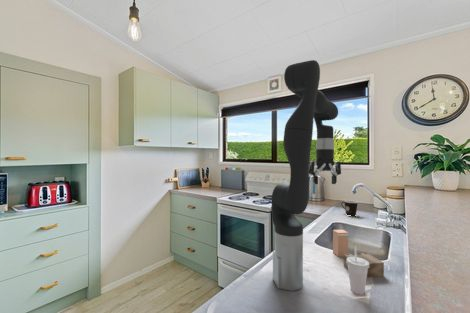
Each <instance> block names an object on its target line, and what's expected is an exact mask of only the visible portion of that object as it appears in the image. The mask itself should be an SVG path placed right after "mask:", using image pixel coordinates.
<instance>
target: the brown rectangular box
mask: <svg viewBox="0 0 470 313" xmlns="http://www.w3.org/2000/svg"><path fill="white" fill-rule="evenodd" d="M348 257H355V252H354V253H348V254H344V256H343V268H345V269H346V270H347V271H348V264H347V262H346V261H347V258H348ZM357 257H359V258H362V259H365V260H366V261H368V262H369V268H368V272H367V278H374V277H375V278H376V277H384V276H385V274H384V273H385V262H383V261H382V260H380V259H379V258H376V257H375V256H374V255H372V254H370V253H368V252H363V253H361V252H359V253H358V252H357Z"/></svg>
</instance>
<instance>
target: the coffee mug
mask: <svg viewBox="0 0 470 313" xmlns="http://www.w3.org/2000/svg"><path fill="white" fill-rule="evenodd" d="M358 202H359V201H357V200H356V201H355V200H344V201H342V202H341V204H340V205H341V207H342V208H343V209H344V210H345V215H346V214H347V215H351V216H355V215H356V216H357V210H358ZM343 203H344V206H343ZM347 215H346V216H347ZM351 216H350V217H351ZM356 216H355V217H356Z"/></svg>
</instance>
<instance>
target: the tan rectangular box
mask: <svg viewBox="0 0 470 313" xmlns="http://www.w3.org/2000/svg"><path fill="white" fill-rule="evenodd" d="M349 235H350V234H349V232H348V231H347V230H344V229H332V253H333V254H334V255H335V256H337V257H344V254H349Z"/></svg>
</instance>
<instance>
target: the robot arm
mask: <svg viewBox="0 0 470 313" xmlns="http://www.w3.org/2000/svg"><path fill="white" fill-rule="evenodd" d="M283 74H284V76H283V79H284V80H283V81H284V83H285V87H286V88H287V89H288V90H289V91H290V92H292V93H293V94H294V95H296V96H297V97H298V98H300V99H301V100H300V102H299V104H298V106H297V107H296V108H295V110H293V112H292V114H291V115H290V117H289V118H288V119H287V122H286V123H285V126H284V132H283V141H282V142H283V144H282V145H283V149H284V150H283V151H284V153H285V155H286V158H287V160H288V163H289V168H290V176H289V177H290V179H289V183H287V182H286V183H285V182H282V183H279V184H277V185H275V186H274V188H273V191H272V194H271V218H272V224H273V225H274V251H273V252H272V280H273V282H274V283H275V286H276V288H277V289H279V290H280V289H282V290H285V291H298V290H301V289H302V288H303V286H304V284H303V283H304V274H303V273H304V267H303V266H304V262H303V261H304V257H303V256H304V250H303V249H304V226H303V224H302V222H300V220H298V218H297V217H296V216H295V215H301V214H303V213H304V212H305V211H306V209H307V207H308V205H309V197H310V175H311V176H312V182H313V183H314V185H319V174H320V173H321V172H325V171H327V172H329V173H330V174H331V184H332V185H336V184H337V182H338V181H337V179H338V178H337V176H339V175H341V174H342V165H341V161H338V160H337V161H335V160H334V159H335V142H334V141H335V140H334V126H332V125H328V124H324V123H323V121H333V120H335V119H336V118H337V117H338V115H339V109H338V106H337V105H336V104H335V103H334V102H333V101H331V100H329V99H328V98H327V97H326V95H325V94H324V93H323V92H322V91H321V90H320V89H319V85H320V80H321V79H320V78H321V68H320V64H319V62H318V61H317V60H315V59H312V60H305V61H302V62H301V61H300V62H296V63H293V64H290V65H288V66H287V67H286V69H284V73H283ZM314 123H315V127H316V146H315V147H316V148H315V149H316V150H315V156H316V158H315V159H316V160H315V161H313V160H311V148H312V141H313V132H314V131H313V130H314ZM315 167H316V168H315ZM334 167H335V168H334Z"/></svg>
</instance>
